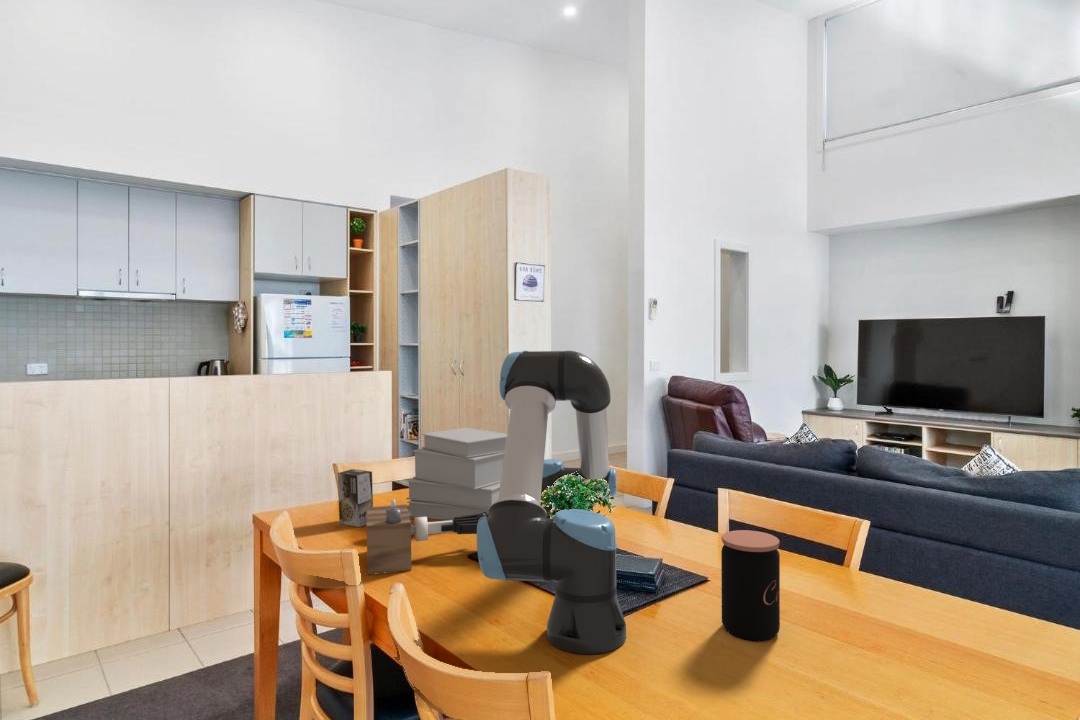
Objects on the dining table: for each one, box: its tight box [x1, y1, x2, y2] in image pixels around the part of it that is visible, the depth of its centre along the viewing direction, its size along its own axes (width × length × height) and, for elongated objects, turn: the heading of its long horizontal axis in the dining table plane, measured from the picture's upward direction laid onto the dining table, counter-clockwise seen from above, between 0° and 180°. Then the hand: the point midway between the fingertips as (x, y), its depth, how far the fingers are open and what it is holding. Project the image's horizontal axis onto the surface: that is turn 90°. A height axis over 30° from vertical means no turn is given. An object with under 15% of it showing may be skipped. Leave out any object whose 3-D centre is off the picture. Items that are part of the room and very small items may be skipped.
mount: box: [366, 503, 413, 575], centre depth 166 cm, size 18×11×12 cm, turn 15°
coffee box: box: [337, 468, 374, 528], centre depth 200 cm, size 9×6×16 cm
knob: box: [411, 517, 429, 542], centre depth 166 cm, size 6×15×6 cm, turn 105°
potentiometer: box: [386, 499, 401, 524], centre depth 159 cm, size 4×4×5 cm
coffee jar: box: [720, 529, 781, 643], centre depth 124 cm, size 11×11×18 cm
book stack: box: [406, 427, 507, 521], centre depth 211 cm, size 30×35×26 cm
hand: (428, 528), depth 168 cm, fingers closed
